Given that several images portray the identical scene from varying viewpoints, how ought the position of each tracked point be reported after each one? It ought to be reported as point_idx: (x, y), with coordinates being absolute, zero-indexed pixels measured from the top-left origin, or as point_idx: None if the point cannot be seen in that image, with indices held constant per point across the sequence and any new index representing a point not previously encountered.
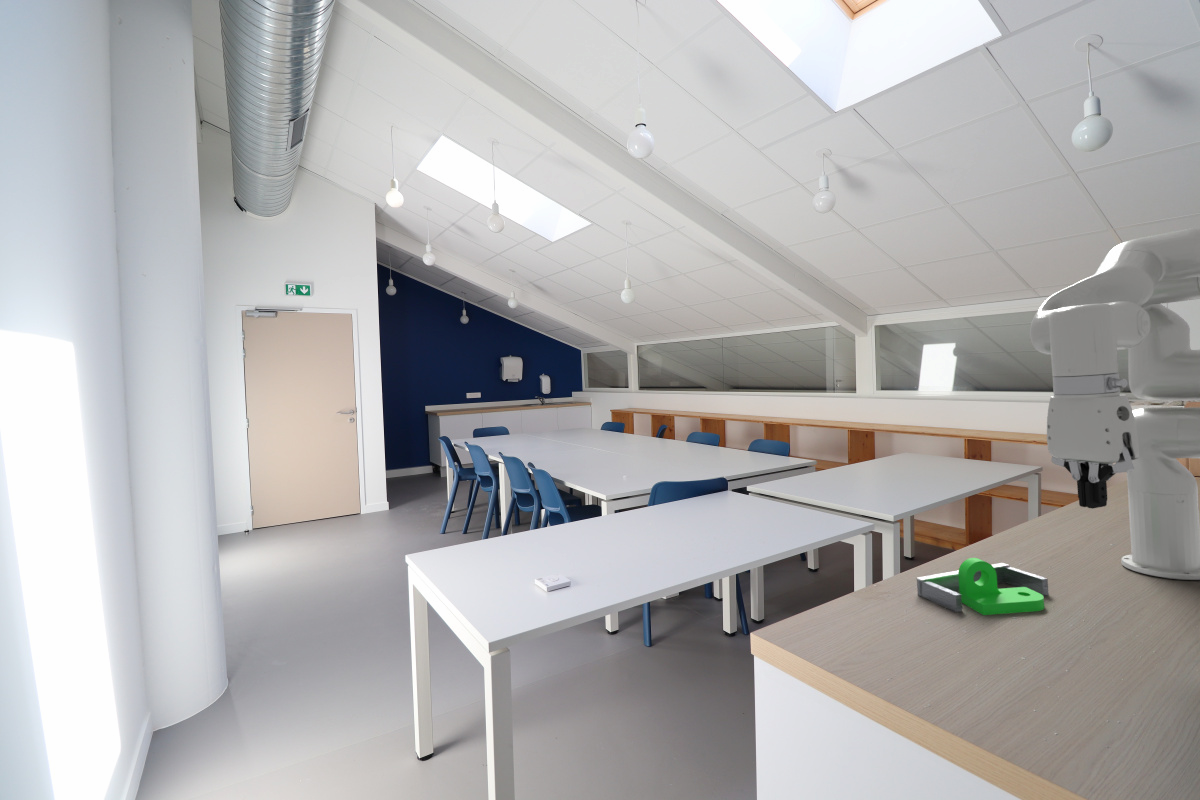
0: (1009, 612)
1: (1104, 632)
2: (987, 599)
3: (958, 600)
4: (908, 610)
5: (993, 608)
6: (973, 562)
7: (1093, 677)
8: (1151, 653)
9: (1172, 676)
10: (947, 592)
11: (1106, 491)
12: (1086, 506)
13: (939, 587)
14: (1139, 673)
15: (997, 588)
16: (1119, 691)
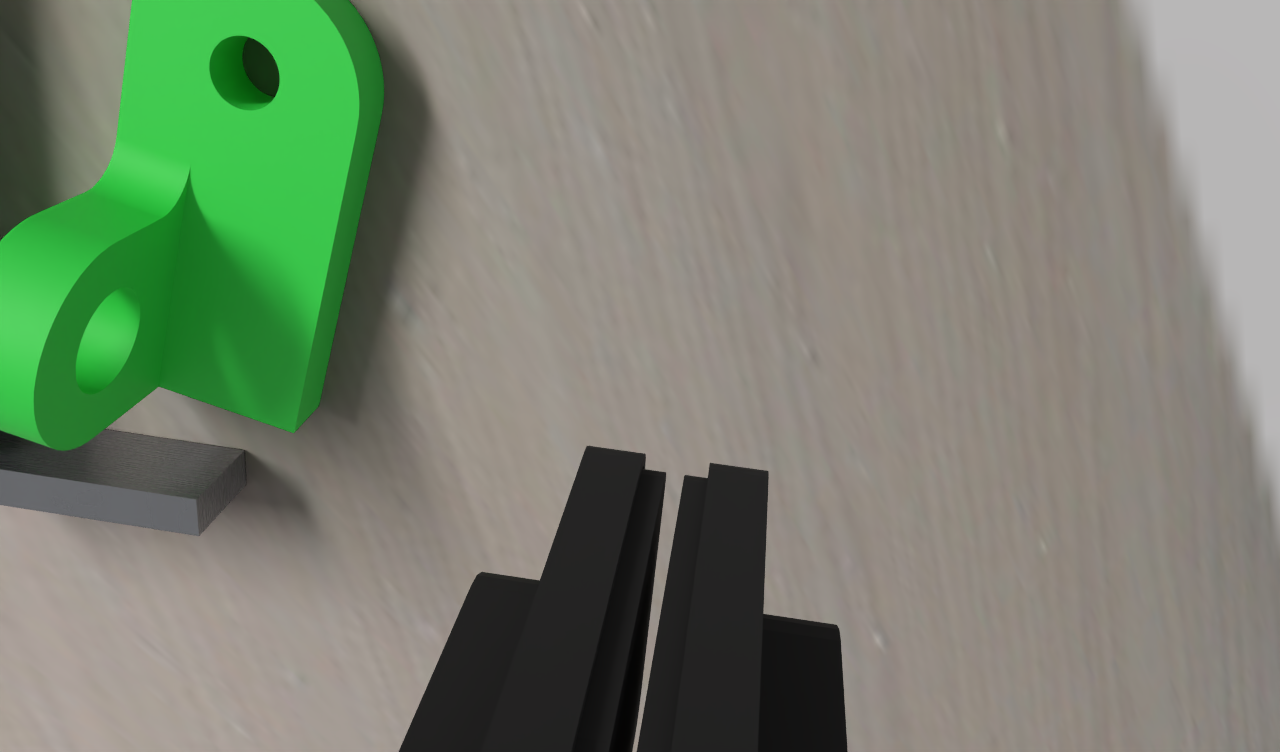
0: (346, 272)
1: (744, 94)
2: (241, 342)
3: (213, 500)
4: (149, 633)
5: (316, 366)
6: (26, 423)
7: (970, 618)
8: (1007, 169)
9: (1164, 354)
10: (145, 527)
11: (844, 749)
12: (640, 696)
13: (68, 501)
14: (1064, 439)
15: (165, 213)
16: (1082, 650)
